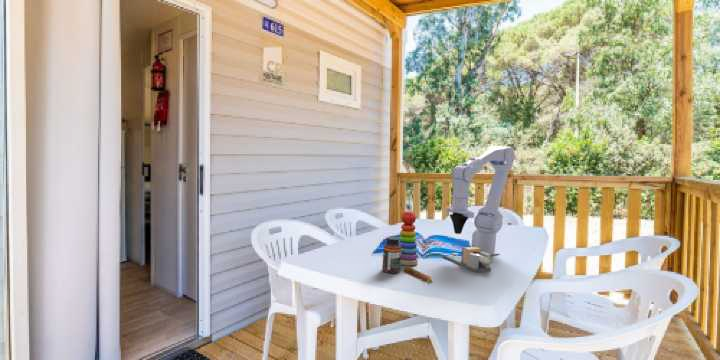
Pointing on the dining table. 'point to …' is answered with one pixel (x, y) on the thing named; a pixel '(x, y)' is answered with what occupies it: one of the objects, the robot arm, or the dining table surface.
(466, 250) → the block
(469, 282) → the dining table surface
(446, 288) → the dining table surface
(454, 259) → the rail
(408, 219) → the stacking toy
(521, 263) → the dining table surface
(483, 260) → the shaft
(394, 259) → the supplement bottle
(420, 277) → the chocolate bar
